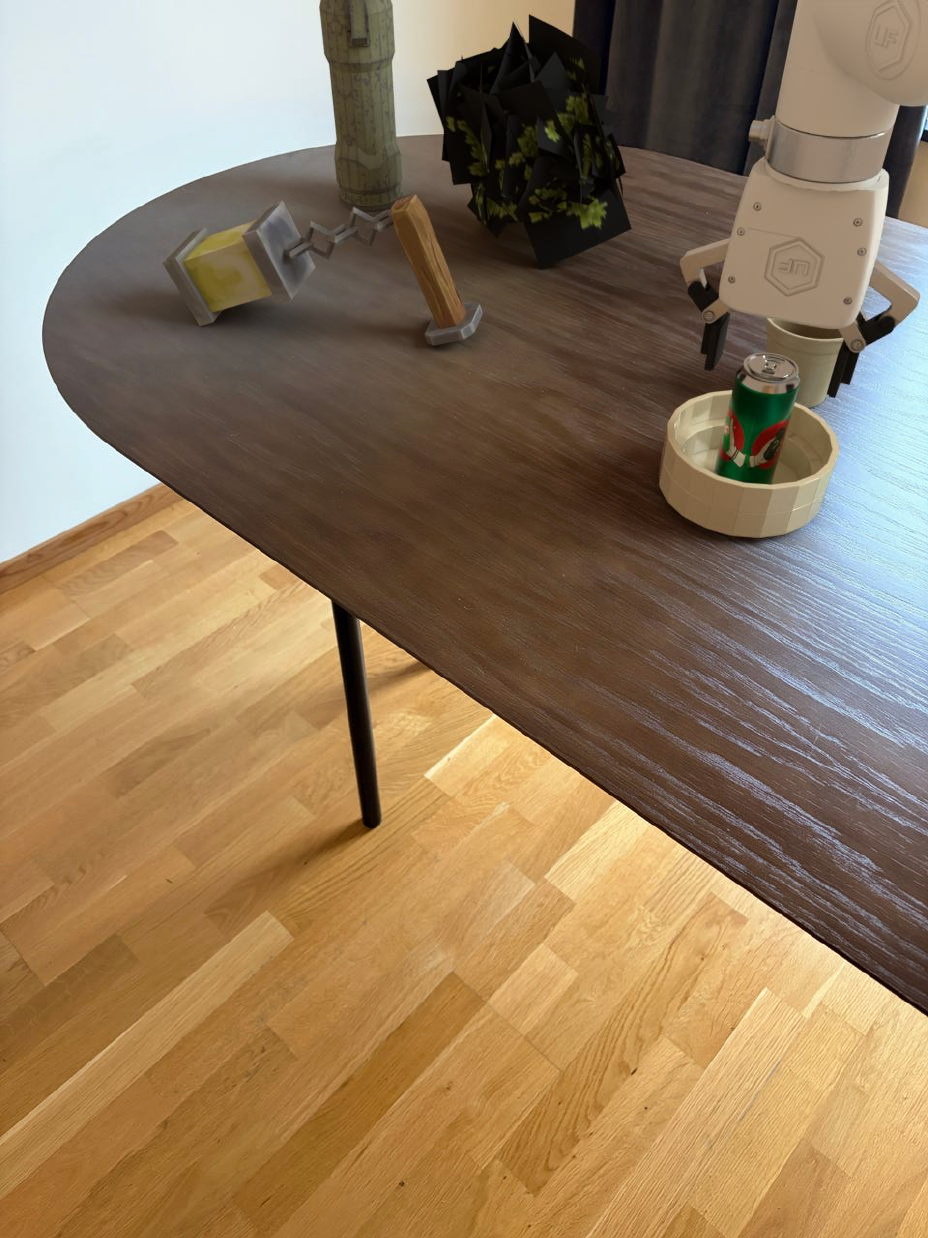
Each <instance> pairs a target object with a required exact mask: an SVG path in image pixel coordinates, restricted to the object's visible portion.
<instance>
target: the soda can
mask: <svg viewBox="0 0 928 1238" xmlns="http://www.w3.org/2000/svg"><path fill="white" fill-rule="evenodd" d="M798 372H799V369H798V366H797V364H796V363H795V362H794V361H793V360H791V359H790V358H788V357H786V356H783V355H780V354H776V353H766V351H765V352H757V353H752V354H750V355H748V356H747V357H745V358H744V361H743V362H742V365H741V366H740V367H739V368H738V369H737V371H736V373H735V378H734V380H733V385H732V389H731V390H732V394H731V398H730V402H729V407H728V411H727V416H726V420H725V424H724V429H723V433H722V438H721V442H720V446H719V451H718V455H717V460H716V464H715V468H714V473H715V474H717V475H719V476H721V477H725V478H729V479H732V480H736V481H740V482H744V483H755V484H768V485H771V484H772V481H773V477H774V474H775V470H776V467H777V463H778V460H779V456H780V453H781V449H782V446H783V442H784V439H785V435H786V432H787V428H788V425H789V421H790V418H791V414H792V411H793V407H794V404H795V400H796V397H797V393H798V390H799V386H800V378H799V376H798Z"/></svg>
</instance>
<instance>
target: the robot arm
mask: <svg viewBox="0 0 928 1238" xmlns="http://www.w3.org/2000/svg"><path fill="white" fill-rule="evenodd" d="M900 106H903V107H925V106H928V0H797V3H796V9H795V13H794V18H793V23H792V27H791V33H790V38H789V43H788V48H787V53H786V57H785V62H784V69H783V74H782V77H781V84H780V88H779V94H778V98H777V104H776V109H775V113H774V114H775V115H772V116H771V117H770V119H764V120H763V121H762V120H754V119H753V120H752V123H751V124H750V128H749V132H748V141H747V142H749V143H756V144H757V143H758V146H762V148H763V149H762V150H763V152H765V153H764V156H763V157H761V158H760V159H758V160H757V161H756V162H754V164H753V165H752V168H751V170H750V173H749V175H748V177H747V180H746V183H745V186H744V189H743V192H742V194H741V197H740V200H739V204H738V208H737V211H736V214H735V218H734V222H733V225H732V229H731V233H730V237H727V238H725V239H722V240H718V241H715V242H712V243H709V244H706V245H703V246H699V247H696V248H693V249H690V250H688V251H686V252H685V253H684V254H683V255H682V256H681V258H680V259H679V261H678V265H679V268H680V271H681V274H682V277H683V280H684V283H685V284H686V287H687V295H688V297H689V298H690V300H692V302H693V303H694V305H695V307H697V309H698V310H699V312H700V313H701V315H700V316H701V320H702V322H704V329H703V334H702V340H701V344H700V345H701V346H700V350H699V352H700V354H701V355H705V357H706V358H705V362H704V367H703V370H704V371H708V372H711V371H714V370H715V369H716V367H717V365H718V363H719V361H720V360H721V357H722V356H723V353H724V348H725V343H726V339H727V335H728V334H727V333H728V328H729V324H730V319H731V318H730V317H731V312H730V311H731V310H732V311H736V312H738V313H742V314H746V315H752V316H757V317H762V318H764V317H766V318H771V319H776V320H781V321H786V322H792V323H797V324H802V325H808V326H813V327H819V328H825V329H838V330H839V331H840V333H841V335H842V337H843V339H844V340H843V342H842V345H841V347H840V350H839V353H838V356H837V359H836V363H835V366H834V370H833V373H832V377H831V380H830V383H829V387H828V390H827V396H828V397H829V398H833V399H836V397H837V395H838V392H839V389H840V386H841V384H843V385H848V386H850V385H851V383H852V379H853V376H854V374H855V370H856V367H857V363H858V360H859V356H860V353H862V352H863V351H865V350H866V349H865V348H866V347H868V346H870V345H872V344H873V343H876V341H877V342H878V341H879V340H880V339H883V338H885V337H887V336H889V335H890V334H891V333H893V331H894V330H895V328H896V327H897V326H898V325H899V324H901V323H902V322H904V320H905V319H906V318H907V317H908V316H909V315H910V314H912V312H913V311H914V310H915V309H917V308H918V306H919V302H920V299H921V294H920V292H919V290H917V289H915V288H914V287H913V286H912V285H910V284H909V283H907V282H906V281H905V280H903V279H902V278H901V277H900V276H898V274H897V273H895V272H893V271H892V270H891V269H889V268H888V267H887V266H886V265H884V264H883V263H882V262H880V261H879V260H877V256H878V253H879V249H880V243H881V238H882V235H883V229H884V223H885V218H886V211H887V204H888V198H889V197H888V196H889V186H890V184H889V183H890V175H889V173H888V171H886V169H884V168H883V165H884V162H885V159H886V155H887V151H888V148H889V145H890V141H891V137H892V133H893V130H894V126H895V123H896V119H897V116H898V113H899V110H900ZM722 262H724V263H723V266H722V271H721V276H720V281H719V287H718V291H717V290H716V289H715V287H714V286H713V284H712V283H711V282H710V280H709V279H708V277H706V275H705V270H704V268H706V267H709V266H713V265H716V264H719V263H722ZM869 287H870V288H872V289H873V290H874V291H875V292H877V293H878V294H880V295H881V296H882V297H884V298H885V299H886V300H887V301H889V302H890V305H889V306H888V307H887V308H886V309H885V310H883V311H881V312H880V313H878V314H876V315H874V316H872V317H871V318H869V319H868V317H867V315H866V313H865V311H864V309H863V308H862V307H863V303H864V301H865V298H866V295H867V292H868V289H869Z"/></svg>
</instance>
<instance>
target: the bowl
mask: <svg viewBox="0 0 928 1238" xmlns="http://www.w3.org/2000/svg"><path fill="white" fill-rule="evenodd" d="M731 394H732V389H729V390H719V391H711V392H707V393H705V394H701V395H698V396H695V397H693V398H690V399H688V400H686V401H685V402H684V403H682V404H681V405H680V406H678V407H677V408H675V409H674V411H673V413H671V416H670V418H669V420H668V421H667V423H666V430H665V435H664V440H663V441H664V442H663V446H662V452H661V458H660V464H659V469H658V486H659V488H660V490H661V492H662V494H663V496H664V498H665V500H666V501H667V503H668V504H669V505H670V506H671V507H672V508H673V509H674V510H675V511H676V512H678V513H679V514H680V515H681V516H682V517H683V518H685V519H687V520H689V521H691V522H693V523H695V524H696V525H698V526H700V527H702V528H704V529H707V530H709V531H713V532H717V533H721V534H724V535H728V536H732V537H744V538H756V539H757V538H758V539H760V538H769V537H776V536H783V535H786V534H789V533H791V532H794V531H796V530H798V529H801V528H803V527H804V528H805V526H806V525H807V524H809V523H810V522H811V521H812V520H813V519H814V518H815V517H816V516H817V515H818V514H819V512H820V509H821V507H822V504H823V501H824V498H825V495H826V492H827V488H828V486H829V483H830V480H831V477H832V474H833V472H834V469H835V467H836V463H837V460H838V457H839V455H840V451H841V449H840V445H839V442H838V441H839V440H838V438H837V437H838V436H837V434H836V433H835V432H834V430H833V429H832V428H831V426H830V425H829V424H828V423H827V422H826V420H825V419H824V418H822V417H821V416H820V415H818V414H817V413H816V412H814V411H812V409H811V408H807V407H805V406H803V405H800V404H798V403H796V402H795V404H794V407H793V411H792V414H791V418H790V421H789V425H788V428H787V432H786V435H785V439H784V442H783V446H782V449H781V453H780V456H779V460H778V463H777V467H776V470H775V474H774V477H773V481H772V484H771V485H768V484H755V483H744V482H740V481H736V480H732V479H729V478H725V477H721V476H719V475H717V474H715V473H714V468H715V464H716V460H717V455H718V451H719V446H720V442H721V438H722V433H723V429H724V424H725V420H726V416H727V411H728V407H729V402H730V398H731Z"/></svg>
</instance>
